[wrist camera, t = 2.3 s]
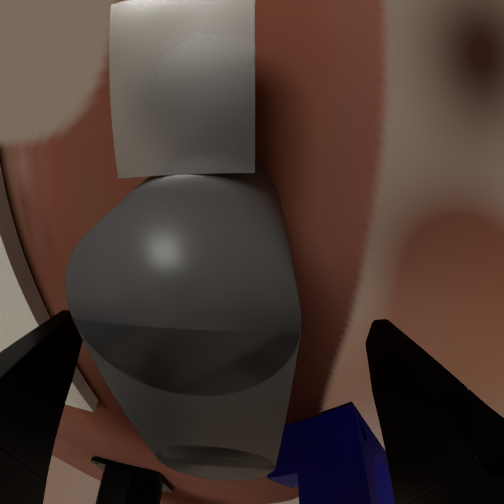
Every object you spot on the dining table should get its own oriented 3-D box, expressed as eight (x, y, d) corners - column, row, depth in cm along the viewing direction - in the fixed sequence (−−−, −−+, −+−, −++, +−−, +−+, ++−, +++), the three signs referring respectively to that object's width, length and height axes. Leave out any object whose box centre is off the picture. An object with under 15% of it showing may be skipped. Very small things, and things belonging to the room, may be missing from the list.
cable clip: (266, 427, 13) (267, 533, 8) (351, 401, 12) (373, 516, 7) (336, 472, 18) (343, 533, 13) (388, 455, 17) (401, 518, 12)
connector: (285, 23, 5) (318, -57, 2) (269, 393, 11) (271, 481, 8) (133, 35, 5) (21, 2, 2) (186, 390, 11) (171, 474, 8)
